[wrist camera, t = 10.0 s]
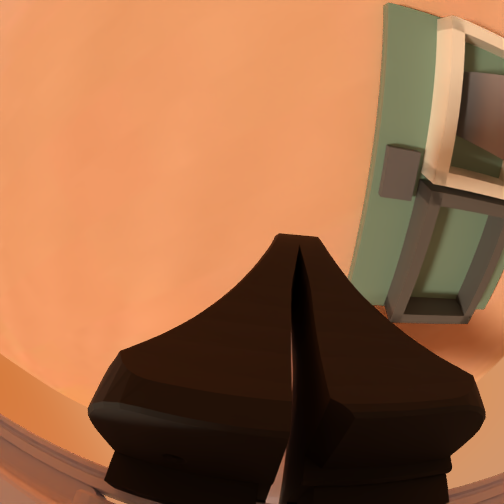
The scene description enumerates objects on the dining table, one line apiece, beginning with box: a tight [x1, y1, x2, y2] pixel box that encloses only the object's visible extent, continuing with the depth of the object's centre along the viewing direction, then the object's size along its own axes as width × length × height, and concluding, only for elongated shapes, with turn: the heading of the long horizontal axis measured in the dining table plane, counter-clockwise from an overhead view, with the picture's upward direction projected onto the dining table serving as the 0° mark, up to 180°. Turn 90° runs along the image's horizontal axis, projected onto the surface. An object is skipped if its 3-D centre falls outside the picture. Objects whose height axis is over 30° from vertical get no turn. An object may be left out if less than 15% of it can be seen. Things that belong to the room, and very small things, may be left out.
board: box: [348, 3, 504, 324], centre depth 15 cm, size 20×13×3 cm, turn 178°
